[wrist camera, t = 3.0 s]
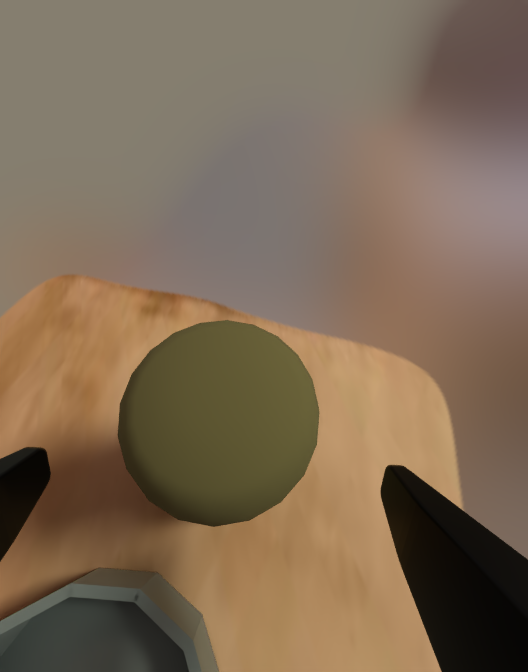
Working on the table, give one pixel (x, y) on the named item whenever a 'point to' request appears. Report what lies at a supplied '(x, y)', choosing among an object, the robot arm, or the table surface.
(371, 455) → the table surface
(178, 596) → the gray bowl
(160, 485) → the cork
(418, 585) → the robot arm
